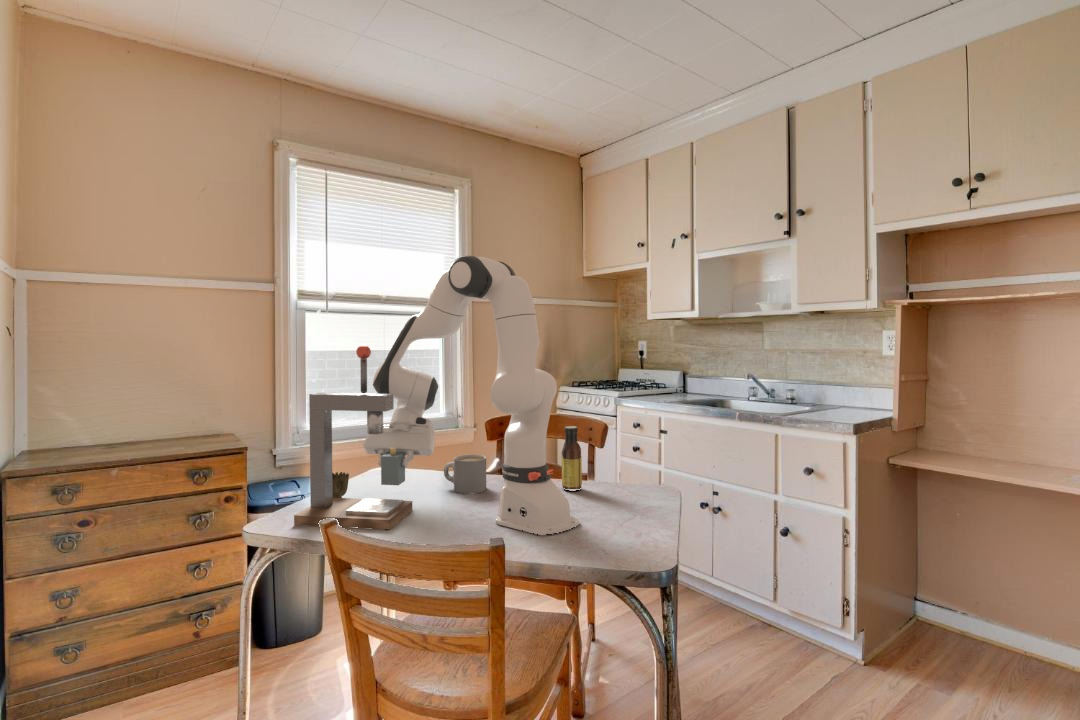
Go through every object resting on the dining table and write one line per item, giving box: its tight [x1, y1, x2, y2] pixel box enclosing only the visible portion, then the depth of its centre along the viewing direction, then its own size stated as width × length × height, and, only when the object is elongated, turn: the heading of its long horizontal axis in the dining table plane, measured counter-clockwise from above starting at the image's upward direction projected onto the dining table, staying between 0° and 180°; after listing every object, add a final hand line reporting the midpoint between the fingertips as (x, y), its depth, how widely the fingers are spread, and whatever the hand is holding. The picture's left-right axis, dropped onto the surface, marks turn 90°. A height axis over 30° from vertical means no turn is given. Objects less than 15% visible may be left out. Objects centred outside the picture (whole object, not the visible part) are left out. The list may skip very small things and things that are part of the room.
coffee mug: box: [443, 453, 487, 495], centre depth 174 cm, size 13×10×10 cm
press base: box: [293, 497, 413, 531], centre depth 146 cm, size 25×16×2 cm, turn 83°
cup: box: [332, 471, 350, 498], centre depth 160 cm, size 8×7×8 cm
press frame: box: [308, 344, 405, 516], centre depth 145 cm, size 22×11×43 cm, turn 83°
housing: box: [380, 448, 406, 486], centre depth 157 cm, size 5×5×10 cm
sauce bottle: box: [560, 425, 583, 489], centre depth 174 cm, size 7×6×20 cm
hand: (392, 466), depth 156 cm, fingers closed on housing, 5 cm apart
